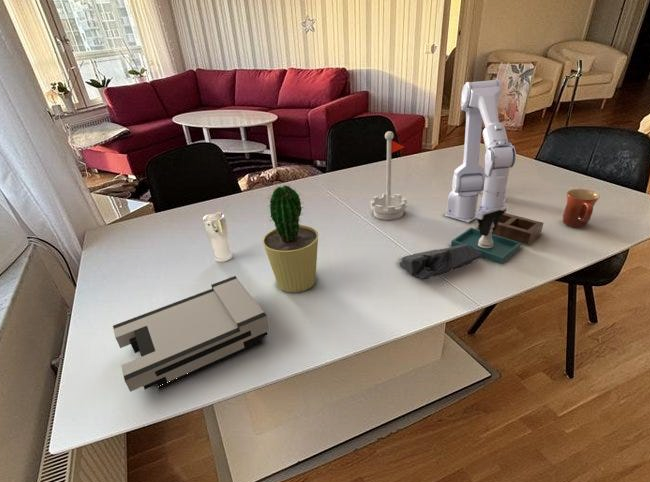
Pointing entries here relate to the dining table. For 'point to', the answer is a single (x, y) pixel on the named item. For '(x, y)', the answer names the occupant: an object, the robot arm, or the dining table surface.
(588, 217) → the mug
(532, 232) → the wooden compartment box
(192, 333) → the game console
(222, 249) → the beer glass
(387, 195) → the flag stand
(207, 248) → the dining table surface
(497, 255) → the tray
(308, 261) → the potted cactus
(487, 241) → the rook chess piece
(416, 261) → the dark slate chunk
